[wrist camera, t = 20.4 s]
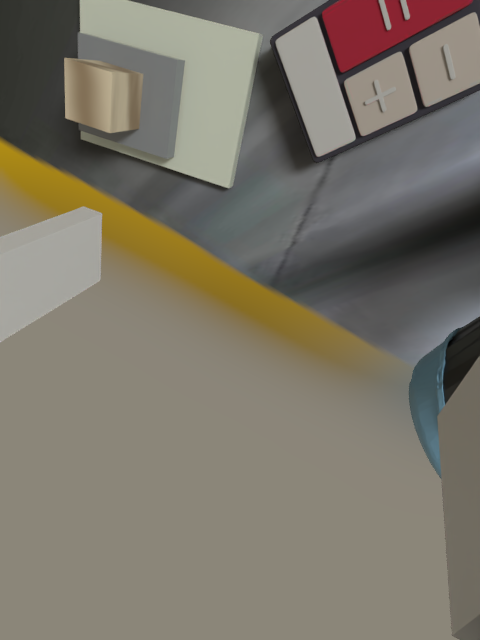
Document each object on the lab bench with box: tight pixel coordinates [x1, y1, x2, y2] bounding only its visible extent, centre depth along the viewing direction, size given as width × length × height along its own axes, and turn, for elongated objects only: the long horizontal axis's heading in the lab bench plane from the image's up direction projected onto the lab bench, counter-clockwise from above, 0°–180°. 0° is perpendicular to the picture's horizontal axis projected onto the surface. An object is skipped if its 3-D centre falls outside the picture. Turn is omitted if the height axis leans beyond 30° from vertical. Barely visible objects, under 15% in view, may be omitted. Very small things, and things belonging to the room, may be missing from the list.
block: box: [64, 58, 143, 133], centre depth 39 cm, size 5×5×5 cm
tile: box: [78, 32, 185, 159], centre depth 42 cm, size 2×9×11 cm
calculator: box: [270, 0, 480, 163], centre depth 34 cm, size 11×4×15 cm
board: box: [80, 0, 263, 188], centre depth 42 cm, size 19×14×1 cm
